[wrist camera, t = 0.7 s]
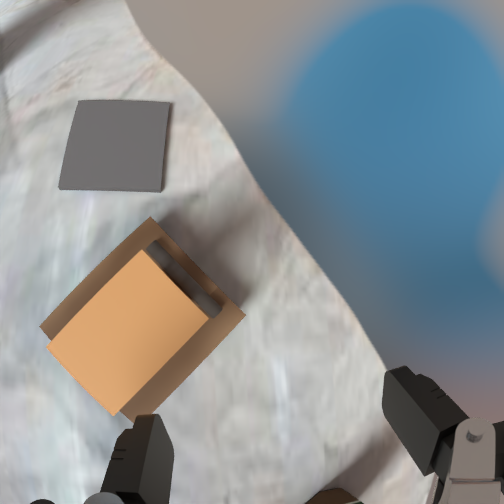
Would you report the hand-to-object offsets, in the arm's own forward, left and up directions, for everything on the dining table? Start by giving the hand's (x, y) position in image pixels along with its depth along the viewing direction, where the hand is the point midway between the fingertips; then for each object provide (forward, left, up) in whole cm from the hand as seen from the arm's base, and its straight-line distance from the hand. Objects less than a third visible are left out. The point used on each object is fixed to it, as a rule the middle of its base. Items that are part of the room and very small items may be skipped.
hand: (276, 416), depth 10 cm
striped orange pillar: (-5, +3, -21) cm, 22 cm away
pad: (-9, +21, -21) cm, 31 cm away
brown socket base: (-5, +3, -21) cm, 22 cm away
